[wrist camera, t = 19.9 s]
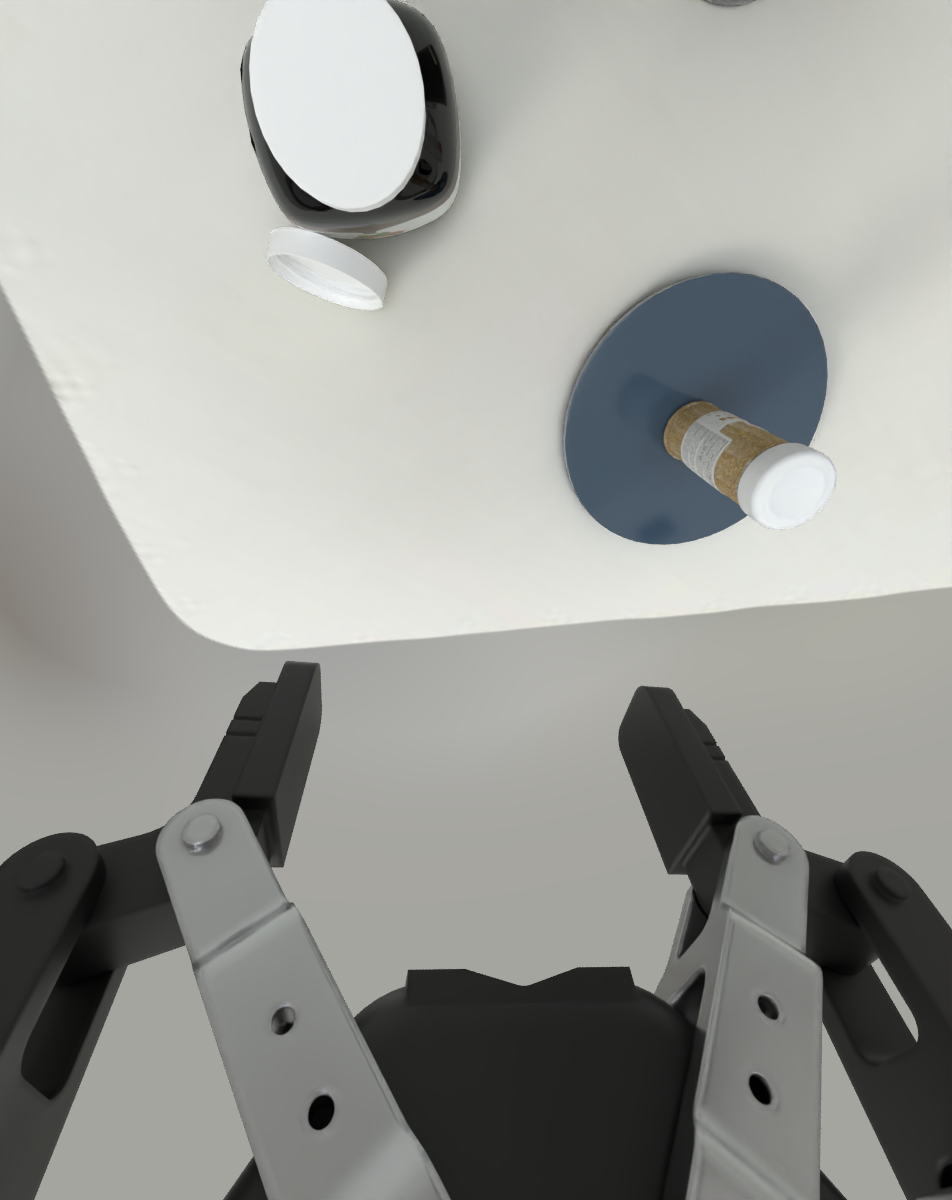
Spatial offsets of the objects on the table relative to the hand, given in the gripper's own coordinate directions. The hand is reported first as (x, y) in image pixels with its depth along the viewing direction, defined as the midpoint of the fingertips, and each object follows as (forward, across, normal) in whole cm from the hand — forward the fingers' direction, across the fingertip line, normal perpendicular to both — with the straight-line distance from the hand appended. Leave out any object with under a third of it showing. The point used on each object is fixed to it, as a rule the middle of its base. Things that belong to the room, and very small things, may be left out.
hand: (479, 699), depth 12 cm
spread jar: (+30, +7, -12) cm, 33 cm away
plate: (+30, -18, -2) cm, 35 cm away
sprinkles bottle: (+29, -18, -2) cm, 34 cm away
